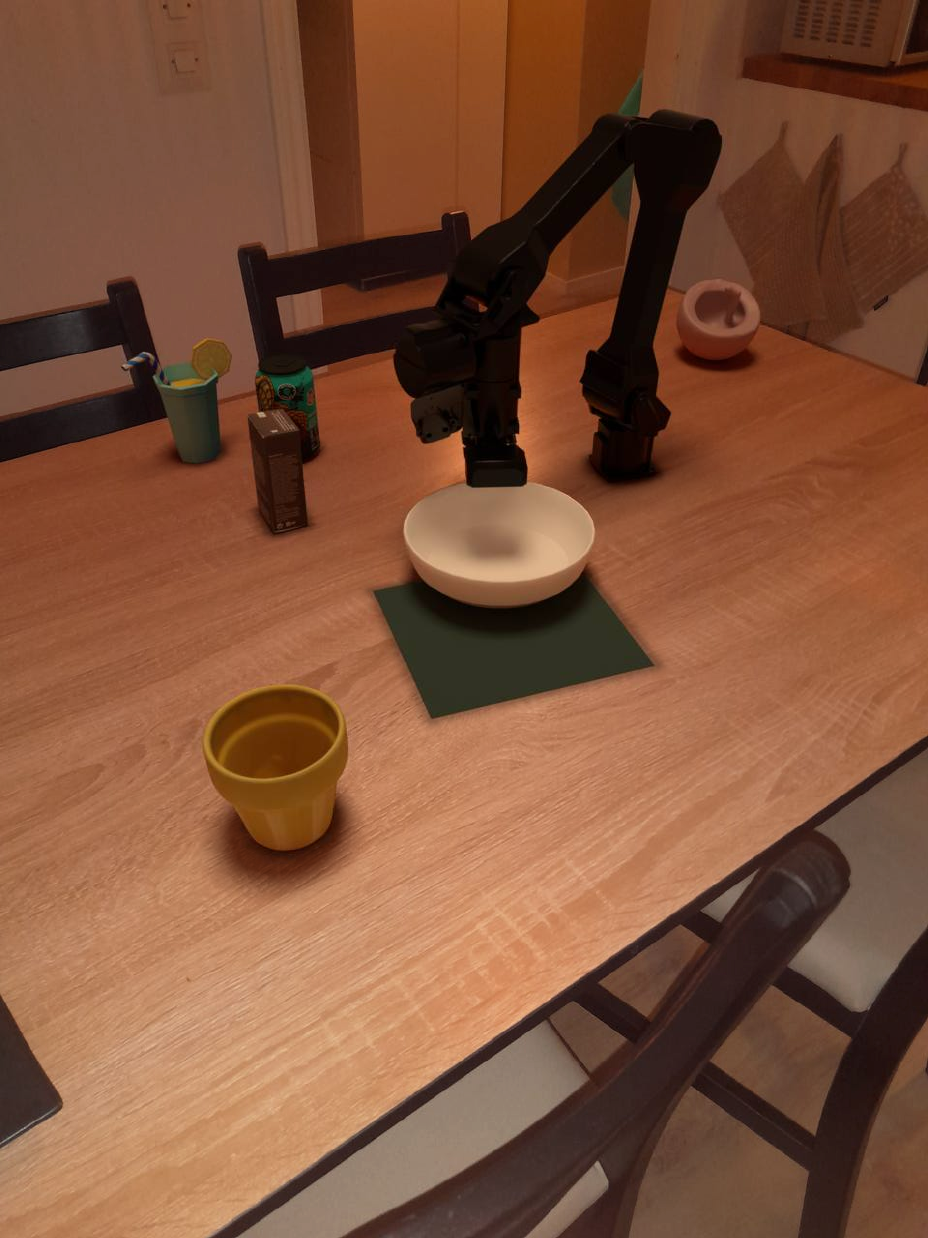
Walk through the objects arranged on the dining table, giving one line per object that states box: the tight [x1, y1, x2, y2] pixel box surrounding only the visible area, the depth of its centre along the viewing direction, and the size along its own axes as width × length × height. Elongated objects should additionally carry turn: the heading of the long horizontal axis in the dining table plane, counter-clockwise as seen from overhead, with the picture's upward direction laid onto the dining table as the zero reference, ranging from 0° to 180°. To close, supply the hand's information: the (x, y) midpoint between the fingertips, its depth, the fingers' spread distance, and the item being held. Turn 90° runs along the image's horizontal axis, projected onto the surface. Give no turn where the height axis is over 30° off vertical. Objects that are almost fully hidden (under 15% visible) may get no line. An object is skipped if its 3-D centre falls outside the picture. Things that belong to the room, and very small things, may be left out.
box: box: [247, 409, 309, 534], centre depth 107 cm, size 6×4×12 cm
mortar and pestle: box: [675, 278, 762, 361], centre depth 143 cm, size 12×12×11 cm
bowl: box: [402, 481, 596, 608], centre depth 100 cm, size 20×20×6 cm
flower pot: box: [202, 683, 349, 852], centre depth 73 cm, size 10×10×10 cm
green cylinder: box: [254, 352, 321, 462], centre depth 119 cm, size 7×7×12 cm
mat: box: [372, 570, 655, 720], centre depth 95 cm, size 22×20×1 cm
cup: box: [120, 337, 233, 465], centre depth 118 cm, size 14×8×15 cm, turn 139°
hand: (488, 498), depth 110 cm, fingers closed
